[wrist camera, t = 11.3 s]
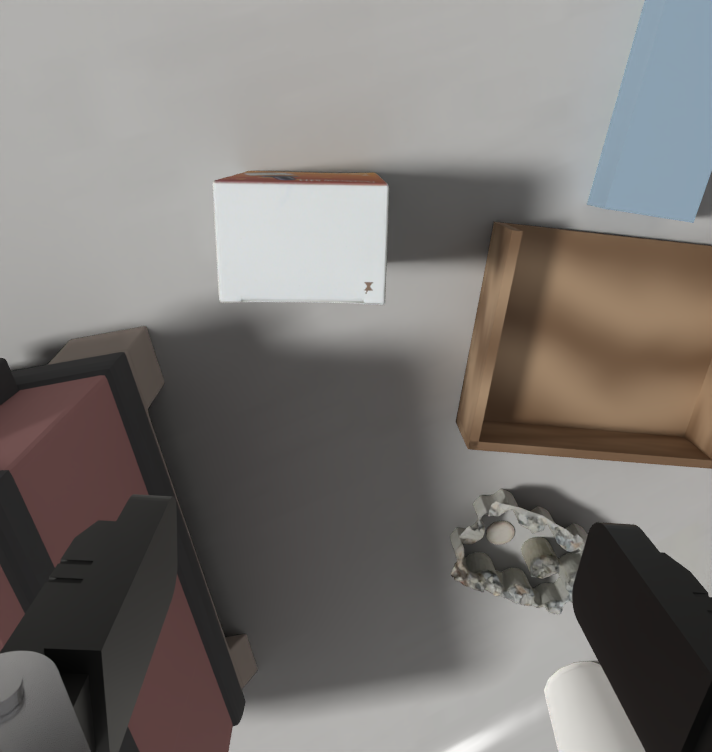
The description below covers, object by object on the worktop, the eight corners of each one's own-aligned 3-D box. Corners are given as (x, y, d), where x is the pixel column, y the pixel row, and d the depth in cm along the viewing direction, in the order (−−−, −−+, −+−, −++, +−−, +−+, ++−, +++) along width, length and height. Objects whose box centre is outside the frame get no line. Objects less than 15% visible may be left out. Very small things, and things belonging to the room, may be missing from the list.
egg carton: (435, 542, 46) (444, 579, 42) (492, 472, 44) (507, 503, 40) (540, 597, 48) (558, 636, 44) (600, 532, 46) (624, 567, 42)
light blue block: (646, -18, 32) (675, -33, 30) (739, 0, 33) (776, -14, 30) (584, 204, 37) (604, 208, 34) (666, 217, 37) (693, 222, 34)
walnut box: (494, 221, 36) (512, 230, 33) (752, 250, 38) (798, 261, 34) (455, 421, 42) (468, 449, 38) (684, 441, 43) (718, 469, 39)
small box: (377, 172, 35) (394, 182, 25) (374, 264, 37) (388, 307, 27) (243, 168, 35) (209, 177, 25) (247, 262, 37) (217, 304, 27)
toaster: (132, 281, 37) (-79, 426, 18) (258, 669, 50) (212, 996, 31) (-157, 335, 38) (-659, 530, 19) (40, 705, 50) (-139, 1048, 31)
